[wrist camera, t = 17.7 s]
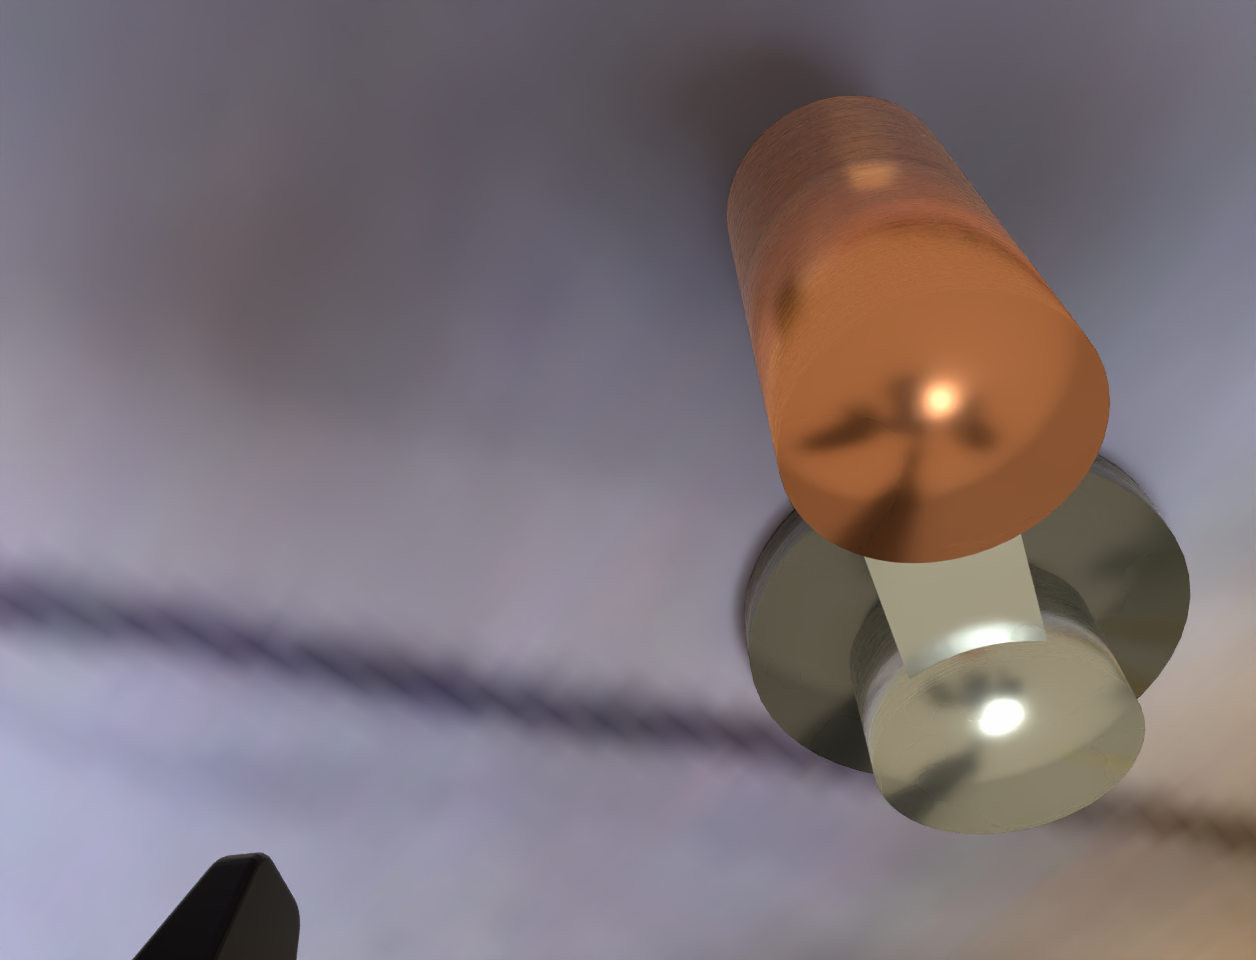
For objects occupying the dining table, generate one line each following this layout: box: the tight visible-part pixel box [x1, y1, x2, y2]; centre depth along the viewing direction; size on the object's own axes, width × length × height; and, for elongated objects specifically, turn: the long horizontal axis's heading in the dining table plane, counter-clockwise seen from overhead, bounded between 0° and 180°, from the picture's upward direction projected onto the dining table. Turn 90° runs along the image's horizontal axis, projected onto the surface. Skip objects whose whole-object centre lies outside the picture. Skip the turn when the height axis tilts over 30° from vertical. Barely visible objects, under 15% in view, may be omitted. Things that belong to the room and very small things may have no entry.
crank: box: [727, 95, 1145, 834], centre depth 14 cm, size 14×4×7 cm, turn 23°
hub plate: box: [745, 455, 1190, 774], centre depth 20 cm, size 8×8×1 cm
